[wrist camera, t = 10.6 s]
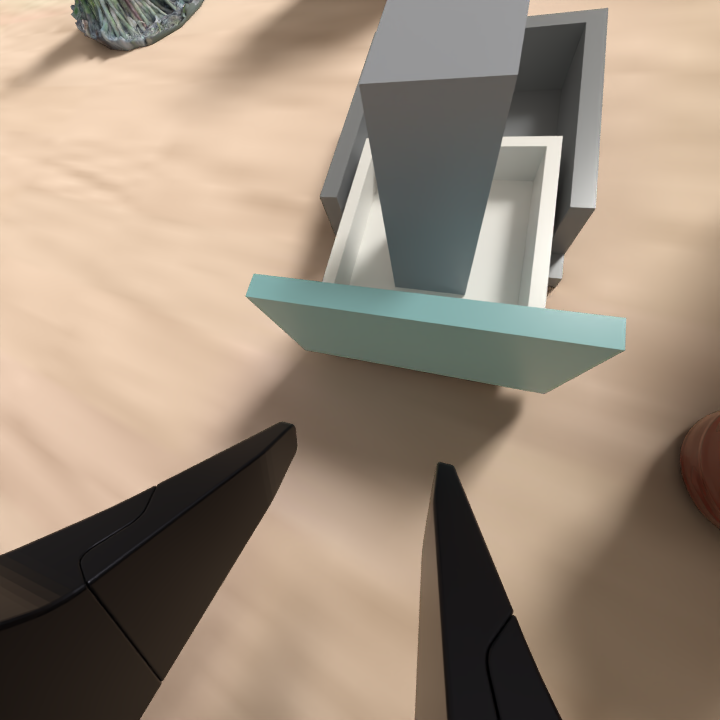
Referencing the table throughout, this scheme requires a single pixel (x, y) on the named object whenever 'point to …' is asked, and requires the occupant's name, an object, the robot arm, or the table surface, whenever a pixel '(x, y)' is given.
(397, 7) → the block
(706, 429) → the mug
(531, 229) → the white drawer
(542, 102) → the grey storage bin
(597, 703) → the table surface
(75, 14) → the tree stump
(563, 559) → the table surface
